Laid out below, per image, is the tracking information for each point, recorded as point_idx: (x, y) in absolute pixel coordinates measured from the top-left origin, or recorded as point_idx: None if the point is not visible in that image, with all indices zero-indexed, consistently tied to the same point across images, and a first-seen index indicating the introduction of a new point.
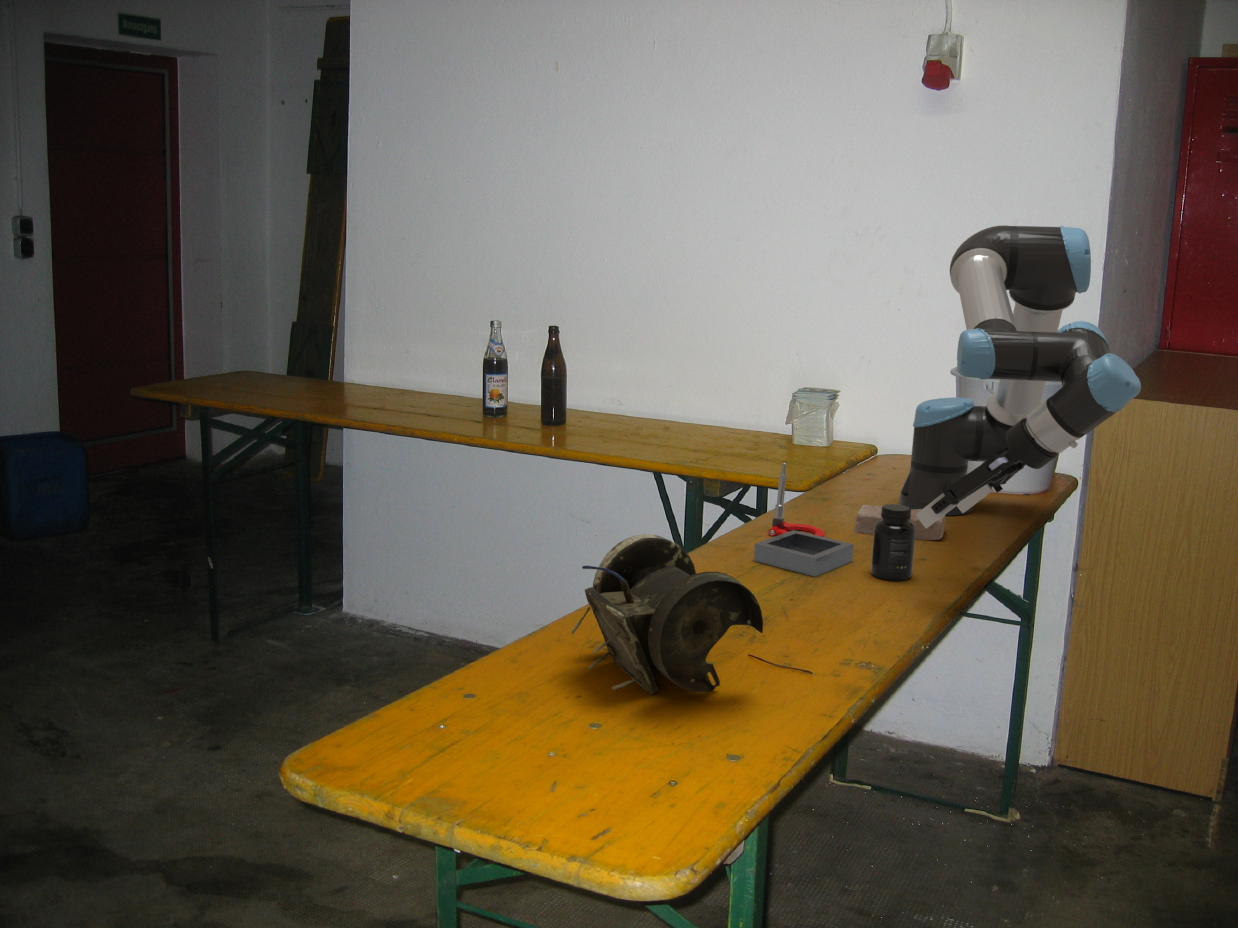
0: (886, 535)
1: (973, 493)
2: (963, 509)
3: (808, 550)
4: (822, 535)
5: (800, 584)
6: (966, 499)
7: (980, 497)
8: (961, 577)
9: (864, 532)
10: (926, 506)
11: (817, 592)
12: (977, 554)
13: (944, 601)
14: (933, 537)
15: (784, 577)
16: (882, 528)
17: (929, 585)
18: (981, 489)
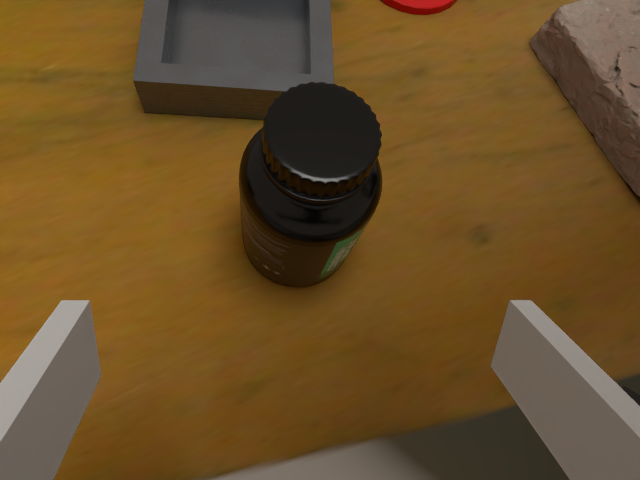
0: (239, 182)
1: (570, 415)
2: (500, 369)
3: (295, 28)
4: (428, 7)
5: (63, 112)
6: (533, 376)
7: (570, 466)
8: (426, 383)
9: (539, 57)
10: (22, 356)
11: (26, 167)
12: (635, 320)
13: (182, 457)
14: (635, 185)
15: (92, 66)
16: (246, 153)
17: (291, 351)
18: (609, 474)
